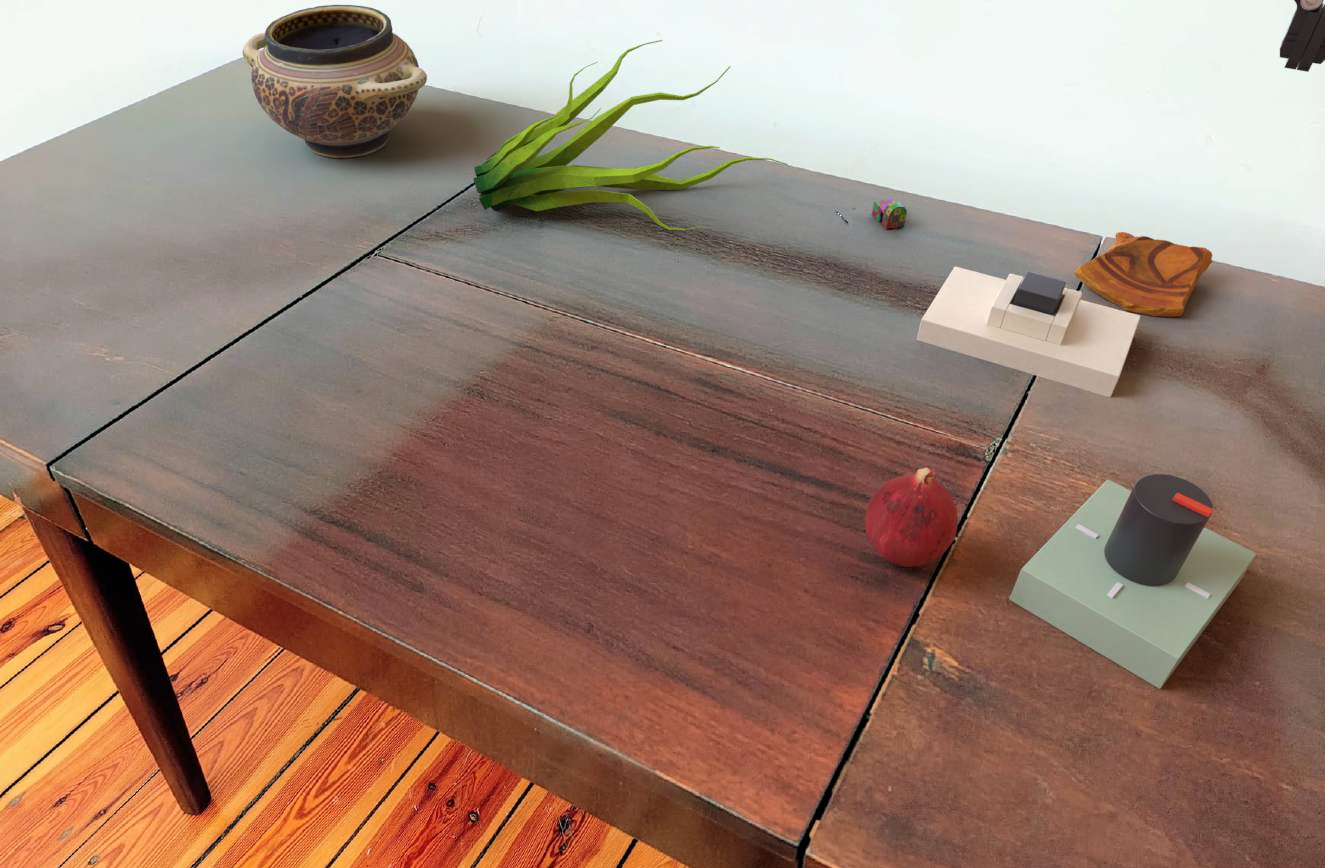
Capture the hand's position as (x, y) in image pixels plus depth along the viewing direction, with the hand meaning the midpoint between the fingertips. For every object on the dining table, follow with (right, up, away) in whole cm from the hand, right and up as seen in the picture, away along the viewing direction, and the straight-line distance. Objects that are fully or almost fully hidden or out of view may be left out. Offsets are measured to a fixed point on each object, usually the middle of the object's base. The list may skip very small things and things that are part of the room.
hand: (1296, 65), depth 69 cm
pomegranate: (-26, -33, +1) cm, 42 cm away
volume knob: (-12, -33, -3) cm, 35 cm away
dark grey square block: (-10, -13, +18) cm, 24 cm away
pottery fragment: (+3, -10, +26) cm, 28 cm away
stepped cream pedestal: (-10, -15, +20) cm, 27 cm away
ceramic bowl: (-75, +11, +49) cm, 91 cm away
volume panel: (-12, -35, -1) cm, 37 cm away
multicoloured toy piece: (-18, -2, +35) cm, 40 cm away
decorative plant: (-44, +2, +39) cm, 59 cm away
